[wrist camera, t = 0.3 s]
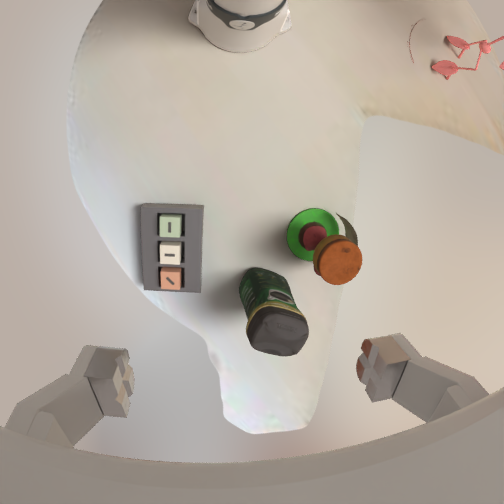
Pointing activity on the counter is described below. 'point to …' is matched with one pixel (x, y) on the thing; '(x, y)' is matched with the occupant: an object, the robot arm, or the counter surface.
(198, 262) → the keypad
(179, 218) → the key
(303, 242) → the red green toy sculpture
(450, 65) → the figurine
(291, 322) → the coffee jar
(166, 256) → the key mid
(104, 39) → the counter surface
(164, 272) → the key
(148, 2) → the counter surface
